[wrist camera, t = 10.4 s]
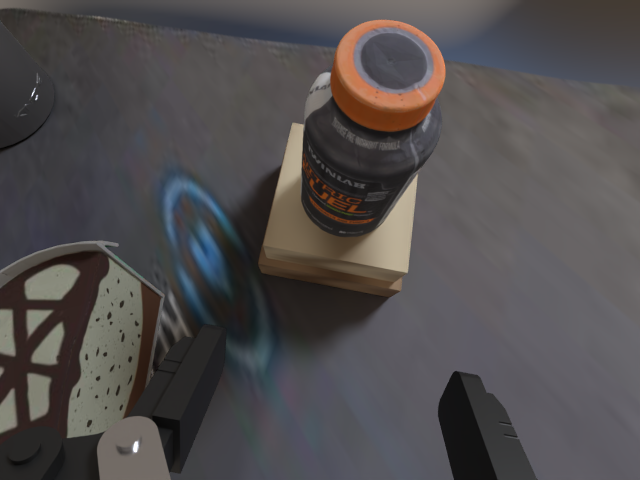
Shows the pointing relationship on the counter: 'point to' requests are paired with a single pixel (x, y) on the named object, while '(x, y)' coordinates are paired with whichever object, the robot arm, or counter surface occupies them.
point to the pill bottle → (370, 126)
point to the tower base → (333, 238)
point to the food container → (74, 339)
